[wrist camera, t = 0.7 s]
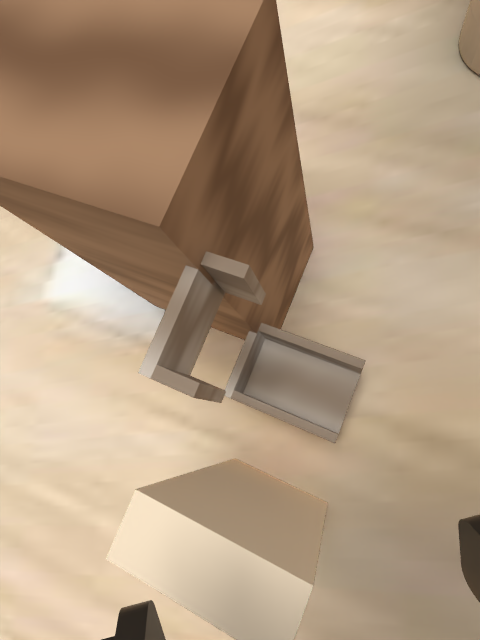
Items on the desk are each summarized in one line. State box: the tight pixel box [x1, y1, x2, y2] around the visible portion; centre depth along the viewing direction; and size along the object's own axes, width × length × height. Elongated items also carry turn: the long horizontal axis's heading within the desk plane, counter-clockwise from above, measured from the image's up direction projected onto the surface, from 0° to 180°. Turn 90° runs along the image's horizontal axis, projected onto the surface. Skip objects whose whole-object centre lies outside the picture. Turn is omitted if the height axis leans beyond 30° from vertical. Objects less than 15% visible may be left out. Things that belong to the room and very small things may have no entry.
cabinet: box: [0, 0, 366, 443], centre depth 26 cm, size 15×20×24 cm
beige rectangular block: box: [106, 459, 328, 640], centre depth 25 cm, size 3×8×18 cm, turn 67°
